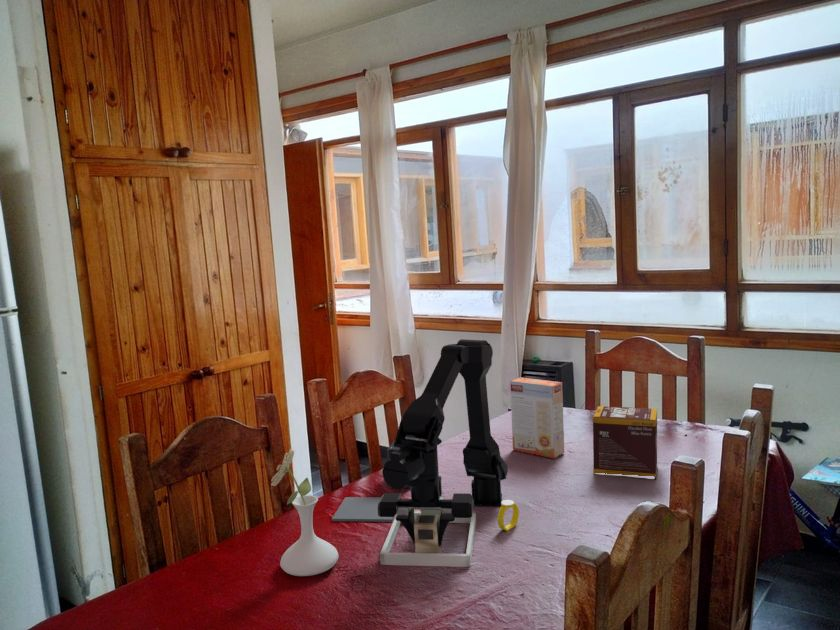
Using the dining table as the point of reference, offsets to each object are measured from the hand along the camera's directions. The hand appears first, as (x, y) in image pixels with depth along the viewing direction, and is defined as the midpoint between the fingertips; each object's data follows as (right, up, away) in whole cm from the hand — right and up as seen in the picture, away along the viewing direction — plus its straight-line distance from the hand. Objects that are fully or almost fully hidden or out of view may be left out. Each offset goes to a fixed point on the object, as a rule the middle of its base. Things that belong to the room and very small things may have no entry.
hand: (428, 545), depth 131 cm
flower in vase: (-24, -4, -4) cm, 24 cm away
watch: (+18, 0, +9) cm, 20 cm away
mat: (-14, 0, +22) cm, 26 cm away
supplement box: (+52, +6, +38) cm, 65 cm away
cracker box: (+32, +7, +55) cm, 64 cm away
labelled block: (0, -2, 0) cm, 2 cm away
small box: (-5, +3, +39) cm, 39 cm away
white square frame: (+1, -1, +5) cm, 5 cm away
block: (+1, 0, +9) cm, 9 cm away
